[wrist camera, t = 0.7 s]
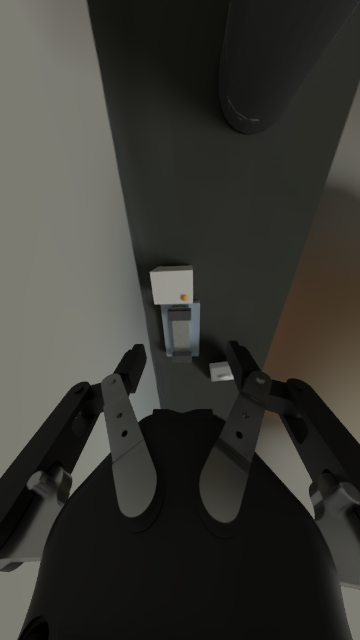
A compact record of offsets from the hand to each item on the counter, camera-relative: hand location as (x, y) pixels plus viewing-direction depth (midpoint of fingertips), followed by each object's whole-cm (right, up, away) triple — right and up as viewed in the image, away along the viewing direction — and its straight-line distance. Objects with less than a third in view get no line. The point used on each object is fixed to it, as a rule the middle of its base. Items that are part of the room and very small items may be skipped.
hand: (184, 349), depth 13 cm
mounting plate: (0, +1, +19) cm, 19 cm away
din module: (-1, +11, +14) cm, 18 cm away
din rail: (0, 0, +18) cm, 18 cm away
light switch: (+11, -8, +23) cm, 27 cm away
